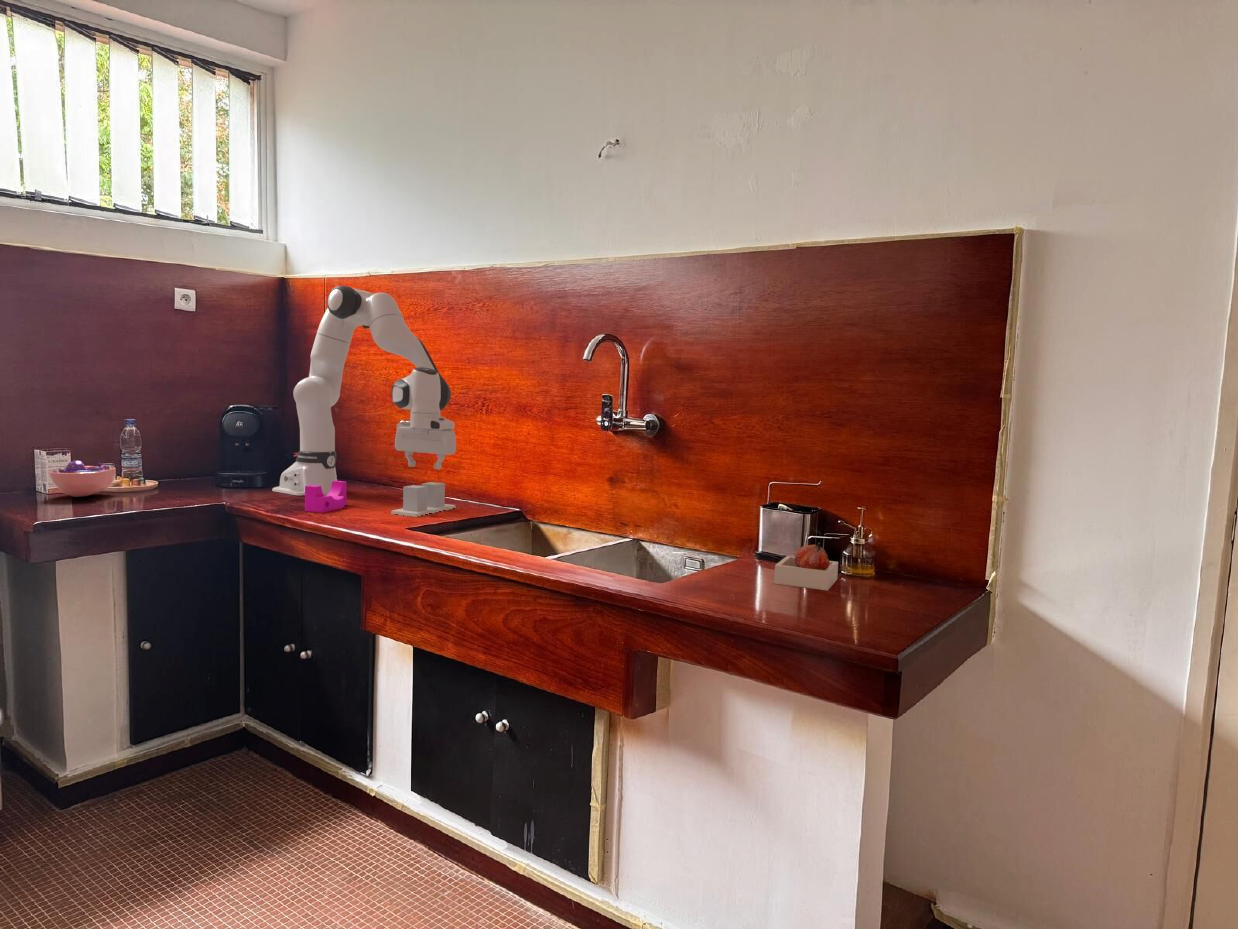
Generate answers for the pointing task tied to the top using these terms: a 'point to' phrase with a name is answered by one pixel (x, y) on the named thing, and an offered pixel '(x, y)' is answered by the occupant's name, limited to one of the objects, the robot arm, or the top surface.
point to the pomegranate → (812, 557)
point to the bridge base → (423, 500)
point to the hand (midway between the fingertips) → (424, 467)
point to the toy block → (325, 497)
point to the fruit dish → (805, 575)
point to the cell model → (82, 478)
